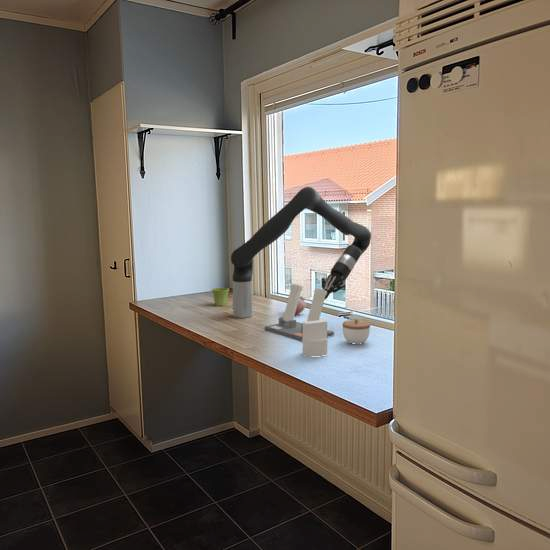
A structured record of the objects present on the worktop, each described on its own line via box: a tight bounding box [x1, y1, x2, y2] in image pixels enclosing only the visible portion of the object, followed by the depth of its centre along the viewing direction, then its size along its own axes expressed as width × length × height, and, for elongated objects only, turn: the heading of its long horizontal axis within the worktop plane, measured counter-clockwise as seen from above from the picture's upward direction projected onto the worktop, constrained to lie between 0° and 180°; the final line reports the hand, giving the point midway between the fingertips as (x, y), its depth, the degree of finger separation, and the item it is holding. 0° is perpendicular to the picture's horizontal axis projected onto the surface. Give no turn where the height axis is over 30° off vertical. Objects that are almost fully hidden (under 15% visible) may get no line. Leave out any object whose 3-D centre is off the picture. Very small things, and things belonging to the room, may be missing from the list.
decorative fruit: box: [286, 295, 306, 315], centre depth 257 cm, size 9×8×10 cm
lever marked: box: [306, 288, 327, 322], centre depth 218 cm, size 2×5×17 cm, turn 39°
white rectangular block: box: [301, 319, 328, 357], centre depth 192 cm, size 9×9×12 cm
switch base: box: [264, 316, 335, 342], centre depth 223 cm, size 16×26×4 cm, turn 39°
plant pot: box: [211, 287, 230, 307], centre depth 280 cm, size 9×9×9 cm
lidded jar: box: [342, 318, 371, 345], centre depth 207 cm, size 11×11×9 cm
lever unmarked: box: [282, 283, 304, 324], centre depth 229 cm, size 2×5×17 cm, turn 39°
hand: (322, 298), depth 219 cm, fingers closed
